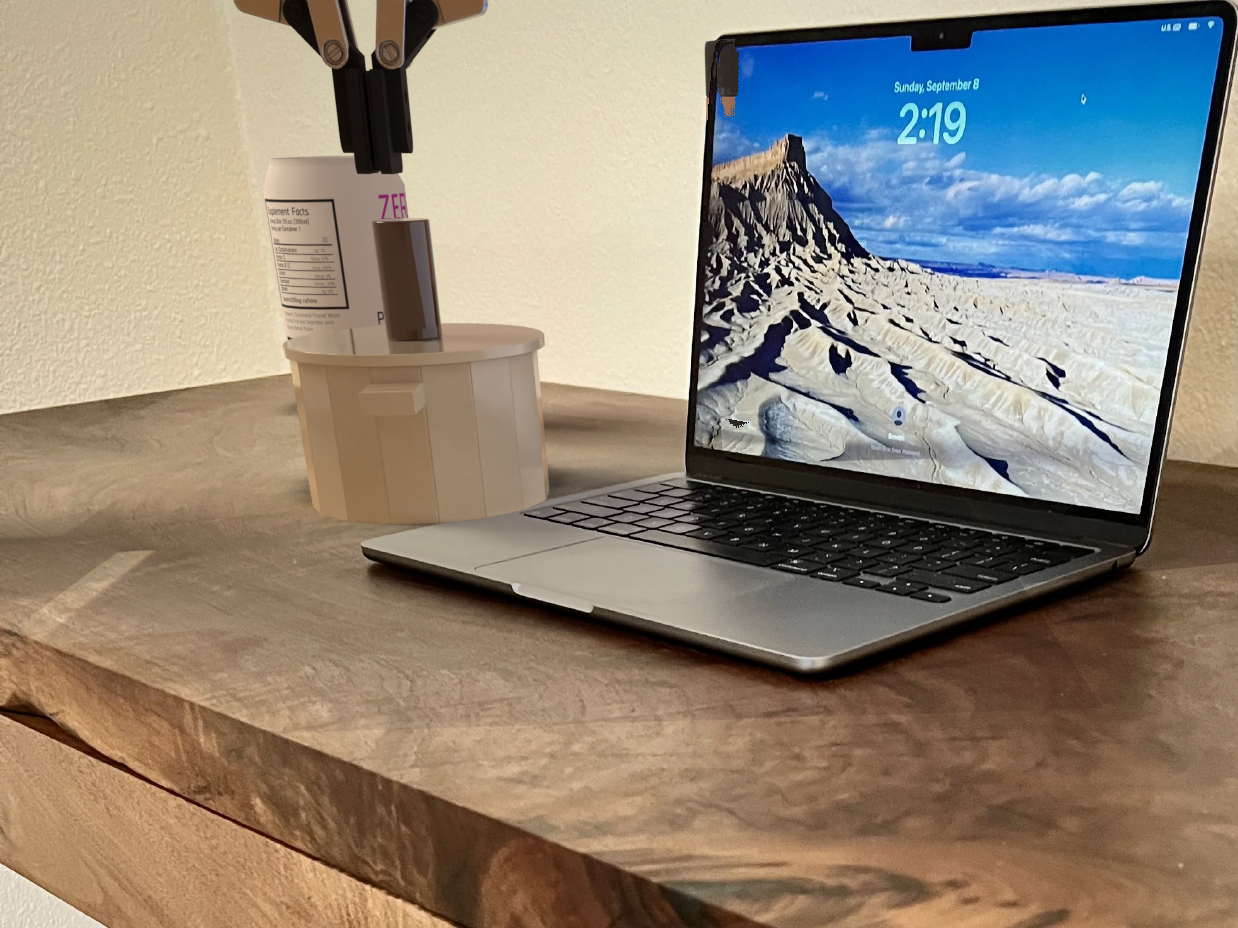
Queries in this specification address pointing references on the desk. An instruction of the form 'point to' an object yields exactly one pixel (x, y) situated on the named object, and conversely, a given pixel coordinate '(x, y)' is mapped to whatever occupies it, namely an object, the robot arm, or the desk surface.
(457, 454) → the pot
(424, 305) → the lid
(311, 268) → the supplement can
